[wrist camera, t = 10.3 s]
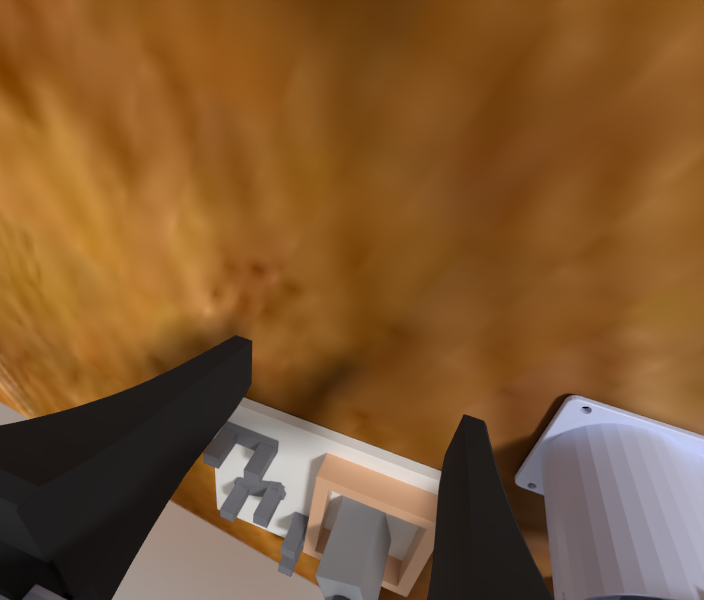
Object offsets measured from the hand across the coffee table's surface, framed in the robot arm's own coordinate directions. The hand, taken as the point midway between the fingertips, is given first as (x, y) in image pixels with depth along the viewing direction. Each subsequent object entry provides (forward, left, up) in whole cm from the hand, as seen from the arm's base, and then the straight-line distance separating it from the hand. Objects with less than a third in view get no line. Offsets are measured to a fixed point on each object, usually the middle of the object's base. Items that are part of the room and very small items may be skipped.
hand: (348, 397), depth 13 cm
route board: (+2, +22, -9) cm, 24 cm away
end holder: (-3, +21, -9) cm, 23 cm away
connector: (-2, +21, -9) cm, 23 cm away
